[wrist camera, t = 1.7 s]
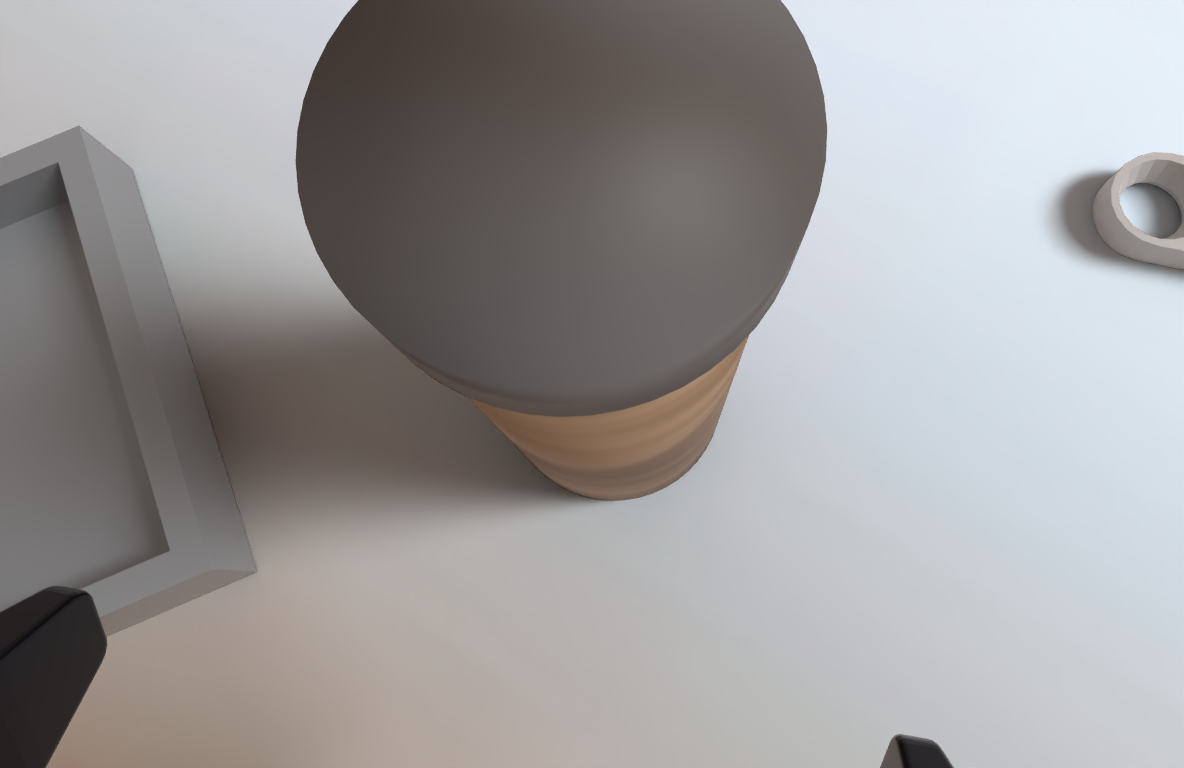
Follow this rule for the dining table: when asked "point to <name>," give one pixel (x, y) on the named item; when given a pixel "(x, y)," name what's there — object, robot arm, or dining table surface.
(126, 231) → the tray
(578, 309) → the walnut canister
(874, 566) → the dining table surface
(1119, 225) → the adjustable wrench
